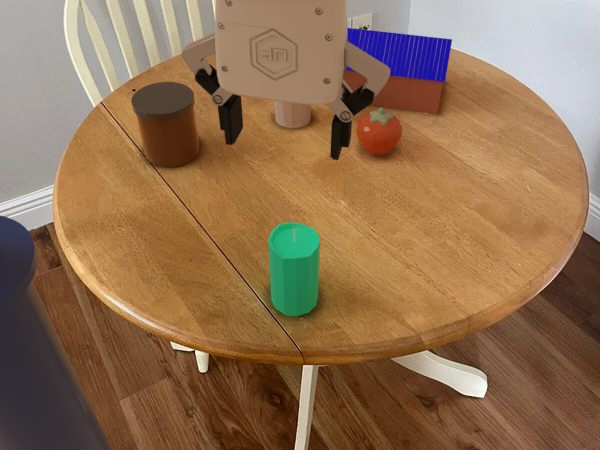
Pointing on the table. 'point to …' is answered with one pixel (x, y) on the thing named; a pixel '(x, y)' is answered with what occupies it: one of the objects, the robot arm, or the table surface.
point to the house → (404, 68)
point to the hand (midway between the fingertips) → (285, 143)
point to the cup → (292, 114)
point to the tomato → (379, 132)
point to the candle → (294, 268)
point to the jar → (167, 123)
